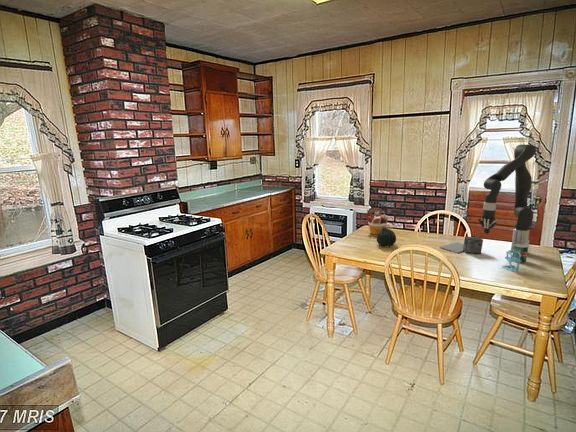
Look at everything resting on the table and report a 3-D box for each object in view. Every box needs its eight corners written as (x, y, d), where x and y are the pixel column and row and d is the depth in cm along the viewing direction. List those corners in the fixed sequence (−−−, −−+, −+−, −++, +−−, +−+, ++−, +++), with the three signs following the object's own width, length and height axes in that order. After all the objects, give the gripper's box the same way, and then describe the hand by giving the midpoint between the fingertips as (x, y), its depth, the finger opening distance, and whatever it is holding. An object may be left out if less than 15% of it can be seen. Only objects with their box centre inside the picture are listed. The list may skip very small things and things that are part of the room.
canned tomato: (526, 264, 226) (528, 247, 223) (512, 262, 230) (514, 246, 227) (525, 260, 233) (527, 244, 230) (511, 258, 236) (513, 242, 234)
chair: (509, 272, 214) (511, 253, 212) (501, 266, 222) (503, 249, 220) (522, 271, 214) (524, 253, 211) (514, 266, 222) (516, 248, 219)
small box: (477, 250, 252) (480, 236, 249) (481, 254, 246) (483, 240, 243) (462, 249, 254) (464, 235, 251) (465, 252, 248) (467, 239, 244)
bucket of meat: (391, 232, 305) (392, 210, 301) (383, 236, 292) (384, 213, 288) (369, 229, 317) (370, 207, 312) (362, 233, 304) (362, 211, 300)
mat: (474, 248, 258) (474, 247, 258) (457, 253, 249) (457, 252, 248) (456, 243, 271) (456, 242, 271) (439, 247, 261) (439, 246, 261)
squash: (403, 239, 266) (392, 222, 272) (390, 244, 258) (379, 227, 264) (391, 247, 277) (382, 231, 283) (379, 252, 269) (369, 235, 274)
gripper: (502, 209, 230) (499, 234, 235) (483, 206, 242) (480, 230, 246) (496, 211, 227) (492, 236, 231) (476, 207, 238) (474, 232, 242)
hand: (486, 233), depth 238 cm, fingers closed
